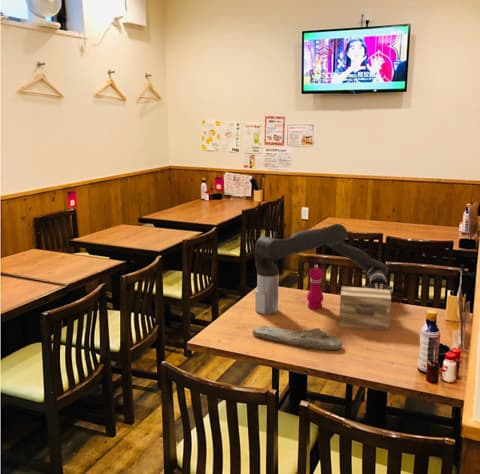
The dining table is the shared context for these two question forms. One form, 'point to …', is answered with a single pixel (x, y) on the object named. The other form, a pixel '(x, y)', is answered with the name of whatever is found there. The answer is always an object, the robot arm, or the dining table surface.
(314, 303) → the pepper mill
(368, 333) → the dining table surface
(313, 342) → the long grey stone
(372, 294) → the wooden crate
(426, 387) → the dining table surface
